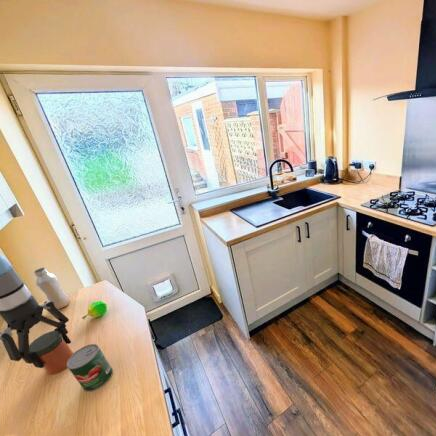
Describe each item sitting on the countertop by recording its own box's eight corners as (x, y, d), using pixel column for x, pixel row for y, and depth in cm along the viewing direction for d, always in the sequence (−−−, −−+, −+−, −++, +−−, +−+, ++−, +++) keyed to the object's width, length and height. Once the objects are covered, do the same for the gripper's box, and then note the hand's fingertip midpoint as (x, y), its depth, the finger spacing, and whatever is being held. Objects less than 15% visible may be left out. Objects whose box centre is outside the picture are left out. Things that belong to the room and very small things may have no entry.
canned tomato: (86, 397, 73) (68, 374, 68) (80, 381, 78) (63, 358, 73) (116, 376, 78) (101, 352, 73) (109, 362, 83) (95, 339, 78)
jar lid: (68, 331, 85) (65, 327, 84) (54, 351, 77) (51, 347, 77) (41, 338, 83) (38, 334, 82) (24, 359, 76) (20, 355, 75)
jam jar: (41, 377, 80) (23, 356, 76) (55, 357, 87) (39, 336, 82) (67, 370, 82) (51, 349, 77) (79, 350, 88) (65, 330, 84)
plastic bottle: (49, 310, 110) (24, 274, 101) (65, 299, 116) (42, 265, 107) (60, 312, 108) (35, 275, 100) (75, 301, 114) (53, 265, 106)
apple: (101, 295, 104) (76, 309, 97) (110, 307, 103) (85, 322, 96) (102, 301, 109) (78, 315, 102) (110, 312, 108) (86, 327, 101)
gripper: (44, 279, 83) (75, 327, 92) (-43, 330, 64) (8, 384, 74) (60, 280, 81) (91, 329, 90) (-23, 333, 63) (26, 388, 72)
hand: (54, 353), depth 82 cm, fingers closed on jar lid, 8 cm apart
